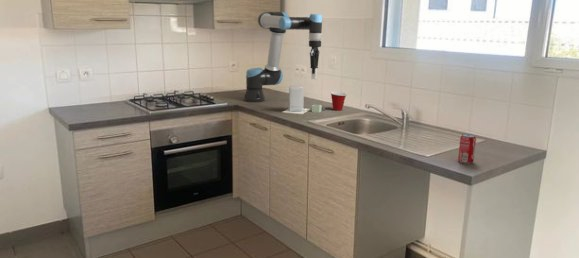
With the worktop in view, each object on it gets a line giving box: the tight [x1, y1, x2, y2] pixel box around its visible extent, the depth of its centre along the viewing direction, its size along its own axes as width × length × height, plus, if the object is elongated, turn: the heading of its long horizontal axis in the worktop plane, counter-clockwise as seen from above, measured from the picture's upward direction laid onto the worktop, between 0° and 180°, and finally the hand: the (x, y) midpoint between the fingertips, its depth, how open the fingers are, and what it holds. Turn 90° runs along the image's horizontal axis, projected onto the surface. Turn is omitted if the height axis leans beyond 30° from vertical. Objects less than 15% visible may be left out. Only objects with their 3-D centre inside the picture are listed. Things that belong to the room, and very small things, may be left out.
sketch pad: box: [282, 107, 311, 115], centre depth 287 cm, size 16×13×1 cm
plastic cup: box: [330, 91, 347, 112], centre depth 291 cm, size 11×11×12 cm
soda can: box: [457, 133, 477, 165], centre depth 188 cm, size 6×6×12 cm
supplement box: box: [288, 85, 305, 111], centre depth 285 cm, size 9×9×15 cm
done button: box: [311, 104, 323, 113], centre depth 286 cm, size 5×5×4 cm
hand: (313, 78), depth 274 cm, fingers closed
